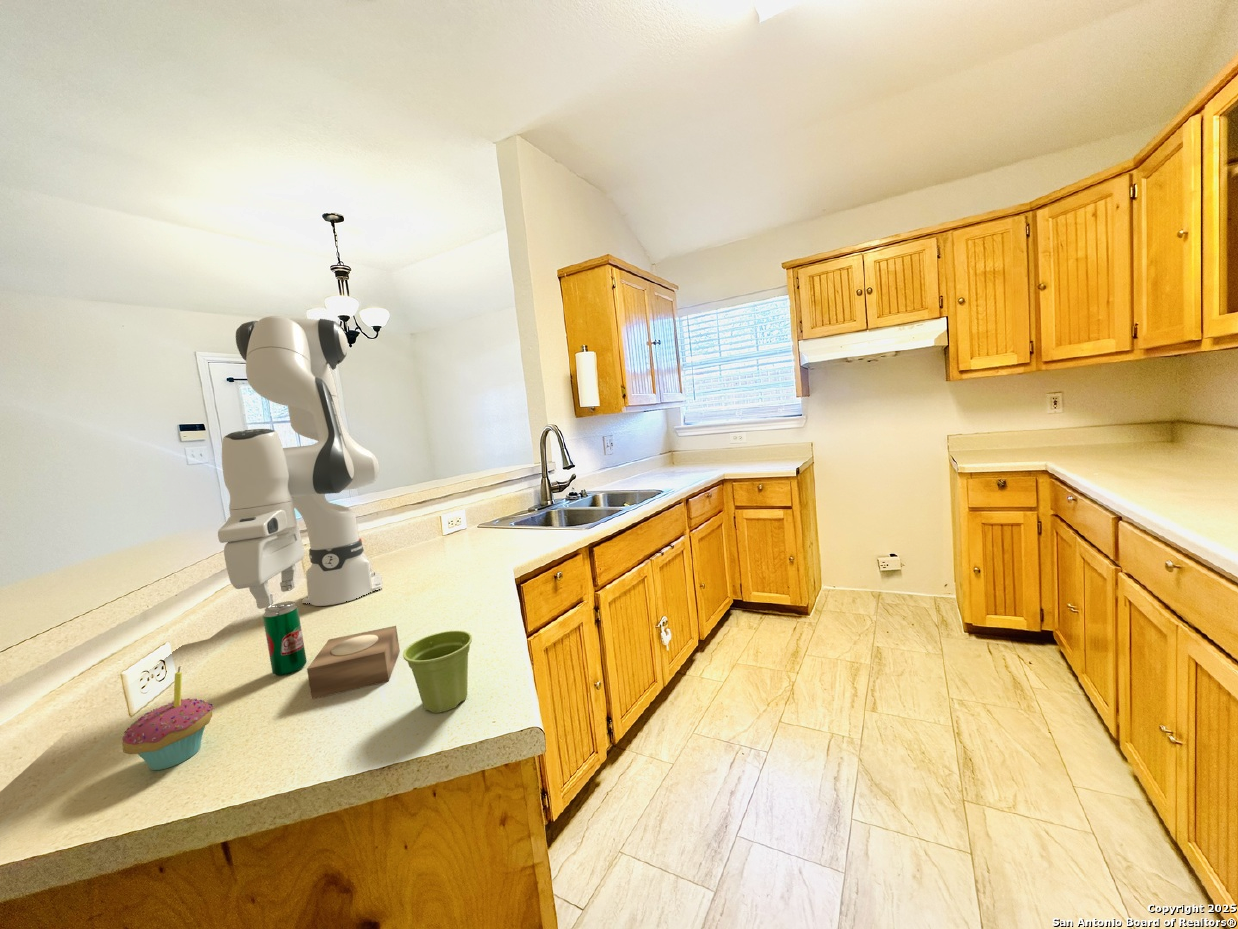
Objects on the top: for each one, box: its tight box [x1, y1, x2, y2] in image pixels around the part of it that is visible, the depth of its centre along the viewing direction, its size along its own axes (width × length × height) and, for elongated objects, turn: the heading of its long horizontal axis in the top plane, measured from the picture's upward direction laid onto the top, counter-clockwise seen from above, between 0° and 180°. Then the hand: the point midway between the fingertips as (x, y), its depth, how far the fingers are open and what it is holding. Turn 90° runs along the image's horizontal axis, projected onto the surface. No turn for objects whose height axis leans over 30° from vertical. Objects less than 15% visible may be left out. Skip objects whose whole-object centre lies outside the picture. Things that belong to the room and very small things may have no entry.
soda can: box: [262, 600, 308, 677], centre depth 81 cm, size 5×5×12 cm
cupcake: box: [121, 665, 214, 771], centre depth 59 cm, size 9×8×12 cm
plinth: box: [306, 625, 401, 700], centre depth 77 cm, size 11×11×5 cm
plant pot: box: [402, 630, 473, 713], centre depth 66 cm, size 9×9×9 cm
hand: (277, 598), depth 80 cm, fingers open, 8 cm apart
